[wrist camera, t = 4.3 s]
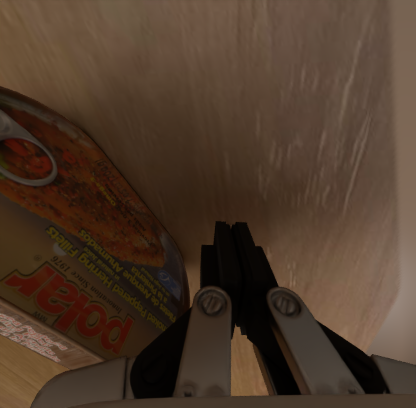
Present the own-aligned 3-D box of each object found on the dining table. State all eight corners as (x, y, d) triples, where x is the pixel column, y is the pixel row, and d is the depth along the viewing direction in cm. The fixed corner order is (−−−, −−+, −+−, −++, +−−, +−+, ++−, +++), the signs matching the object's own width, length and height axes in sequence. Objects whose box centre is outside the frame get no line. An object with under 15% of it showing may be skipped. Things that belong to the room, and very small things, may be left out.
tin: (195, 266, 16) (189, 406, 9) (164, 279, 17) (134, 419, 9) (49, 81, 10) (-429, 12, 2) (8, 113, 10) (-469, 138, 3)
